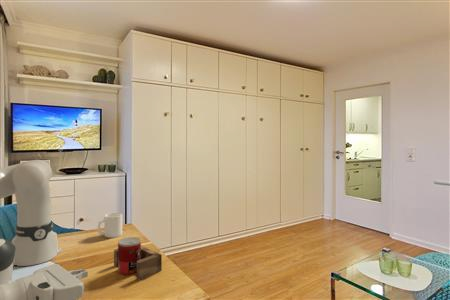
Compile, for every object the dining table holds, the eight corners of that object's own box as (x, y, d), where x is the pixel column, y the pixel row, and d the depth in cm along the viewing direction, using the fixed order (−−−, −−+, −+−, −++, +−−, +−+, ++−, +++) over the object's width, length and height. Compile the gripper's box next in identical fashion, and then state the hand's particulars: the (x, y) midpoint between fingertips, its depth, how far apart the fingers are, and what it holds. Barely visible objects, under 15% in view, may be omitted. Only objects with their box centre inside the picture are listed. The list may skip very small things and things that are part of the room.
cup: (125, 234, 137) (125, 214, 137) (101, 241, 128) (101, 219, 128) (117, 231, 142) (117, 211, 142) (93, 237, 133) (93, 216, 133)
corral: (114, 265, 104) (113, 249, 103) (135, 257, 111) (135, 243, 110) (139, 280, 93) (139, 262, 93) (161, 270, 100) (161, 254, 100)
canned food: (131, 277, 95) (131, 246, 94) (113, 273, 97) (113, 243, 97) (145, 267, 102) (145, 238, 102) (127, 264, 105) (127, 235, 104)
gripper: (23, 288, 83) (71, 271, 94) (48, 316, 70) (101, 293, 81) (23, 268, 83) (71, 253, 93) (48, 292, 70) (101, 272, 81)
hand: (85, 272), depth 87 cm, fingers closed
